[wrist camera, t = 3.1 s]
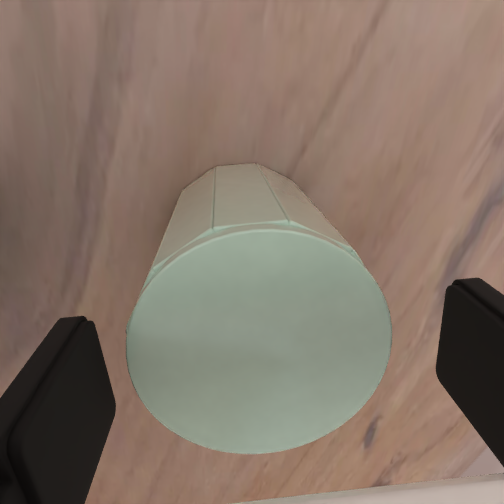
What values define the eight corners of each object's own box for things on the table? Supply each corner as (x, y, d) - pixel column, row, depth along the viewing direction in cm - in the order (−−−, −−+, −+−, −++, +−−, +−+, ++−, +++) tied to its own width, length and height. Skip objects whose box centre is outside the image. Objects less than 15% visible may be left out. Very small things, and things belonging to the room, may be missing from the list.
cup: (138, 220, 18) (64, 334, 9) (261, 132, 17) (306, 168, 8) (225, 323, 21) (230, 489, 12) (337, 251, 20) (434, 375, 11)
